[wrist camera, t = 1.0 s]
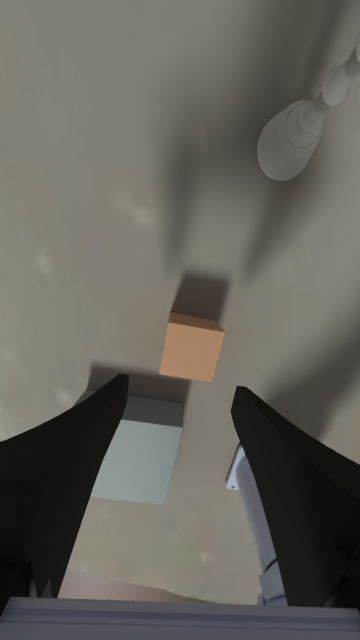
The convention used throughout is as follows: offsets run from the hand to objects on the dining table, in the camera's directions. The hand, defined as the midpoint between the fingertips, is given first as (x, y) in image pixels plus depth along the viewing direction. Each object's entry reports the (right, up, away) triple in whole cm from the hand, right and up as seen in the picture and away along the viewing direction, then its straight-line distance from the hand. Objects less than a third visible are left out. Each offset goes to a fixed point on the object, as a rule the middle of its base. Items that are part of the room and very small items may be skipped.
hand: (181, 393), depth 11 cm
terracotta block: (+1, +3, +8) cm, 9 cm away
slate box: (-7, -10, +12) cm, 17 cm away
